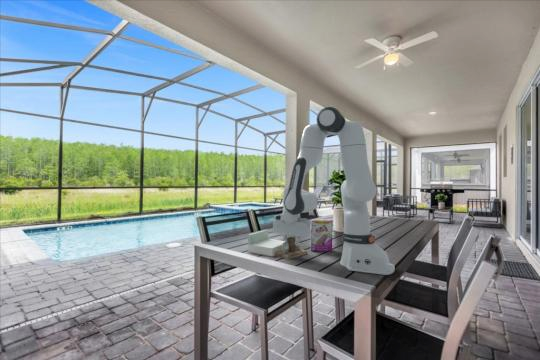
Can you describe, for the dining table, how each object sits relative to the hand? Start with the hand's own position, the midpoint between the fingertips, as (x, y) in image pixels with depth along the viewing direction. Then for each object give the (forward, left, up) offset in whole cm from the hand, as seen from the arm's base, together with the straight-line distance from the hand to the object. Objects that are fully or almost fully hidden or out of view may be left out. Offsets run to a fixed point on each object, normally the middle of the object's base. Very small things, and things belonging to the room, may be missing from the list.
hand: (291, 244), depth 133 cm
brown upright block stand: (0, 0, -5) cm, 5 cm away
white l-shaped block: (+13, 0, -5) cm, 14 cm away
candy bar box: (-10, -16, -5) cm, 19 cm away
